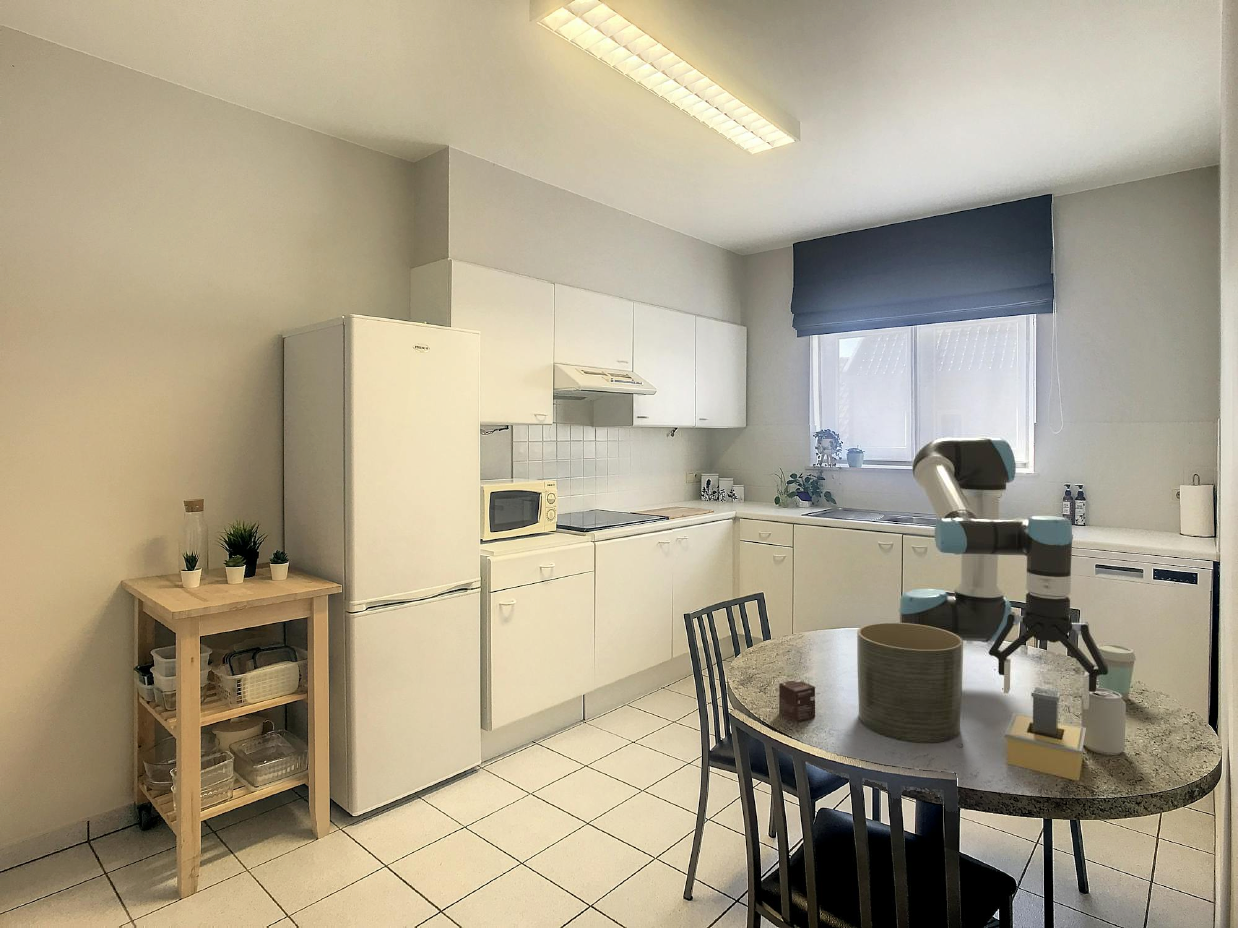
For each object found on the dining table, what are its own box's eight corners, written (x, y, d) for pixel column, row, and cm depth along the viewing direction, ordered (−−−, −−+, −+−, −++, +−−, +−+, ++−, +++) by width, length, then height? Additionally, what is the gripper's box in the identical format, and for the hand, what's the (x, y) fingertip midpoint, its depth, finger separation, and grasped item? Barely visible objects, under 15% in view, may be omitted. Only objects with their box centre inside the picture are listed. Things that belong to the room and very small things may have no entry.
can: (1072, 741, 147) (1073, 686, 146) (1105, 739, 148) (1106, 684, 147) (1099, 757, 139) (1100, 699, 139) (1134, 756, 140) (1135, 697, 140)
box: (795, 722, 158) (795, 691, 157) (778, 713, 163) (778, 683, 163) (815, 717, 160) (816, 686, 160) (798, 708, 166) (798, 678, 165)
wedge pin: (1033, 752, 142) (1034, 685, 141) (1059, 758, 139) (1060, 690, 138) (1030, 761, 138) (1031, 692, 138) (1057, 767, 135) (1058, 697, 135)
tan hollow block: (1004, 763, 137) (1004, 733, 137) (1013, 740, 148) (1013, 712, 147) (1081, 782, 130) (1081, 750, 129) (1085, 756, 140) (1086, 727, 140)
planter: (947, 707, 166) (948, 624, 165) (975, 748, 144) (976, 653, 143) (851, 701, 170) (851, 620, 170) (863, 739, 149) (864, 647, 148)
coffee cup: (1142, 703, 167) (1143, 654, 167) (1102, 701, 169) (1103, 652, 169) (1124, 690, 176) (1125, 644, 175) (1086, 688, 177) (1087, 642, 177)
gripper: (974, 589, 142) (972, 690, 143) (1125, 607, 127) (1121, 720, 128) (981, 582, 148) (979, 679, 149) (1125, 599, 133) (1122, 706, 134)
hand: (1045, 698), depth 138 cm, fingers open, 13 cm apart
